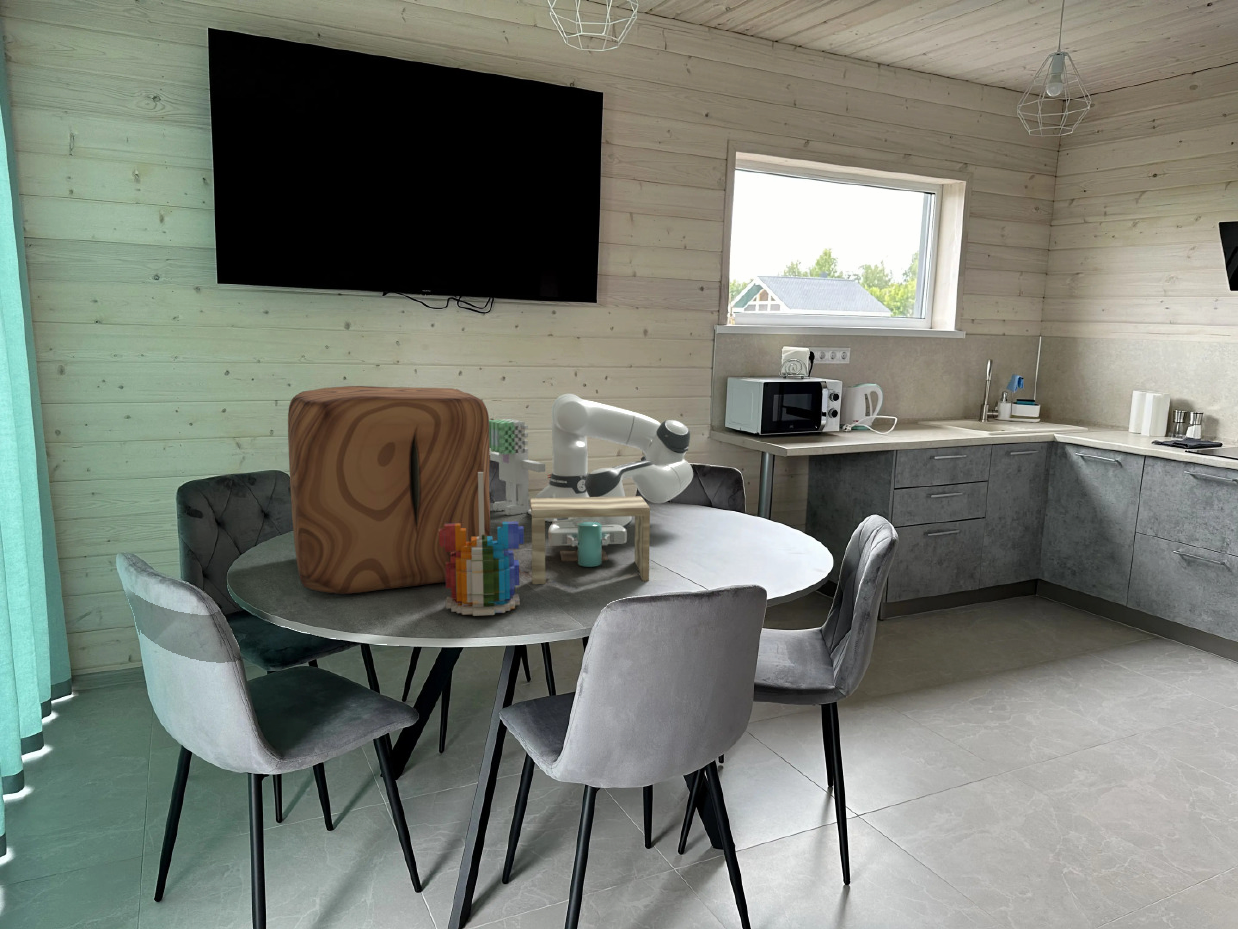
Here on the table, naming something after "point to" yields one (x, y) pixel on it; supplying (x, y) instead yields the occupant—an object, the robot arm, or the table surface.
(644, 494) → the robot arm
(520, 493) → the toy
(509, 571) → the toy
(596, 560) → the mint green cylinder
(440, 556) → the brown wooden cube stool
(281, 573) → the table surface
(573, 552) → the tray
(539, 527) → the wooden step stool
